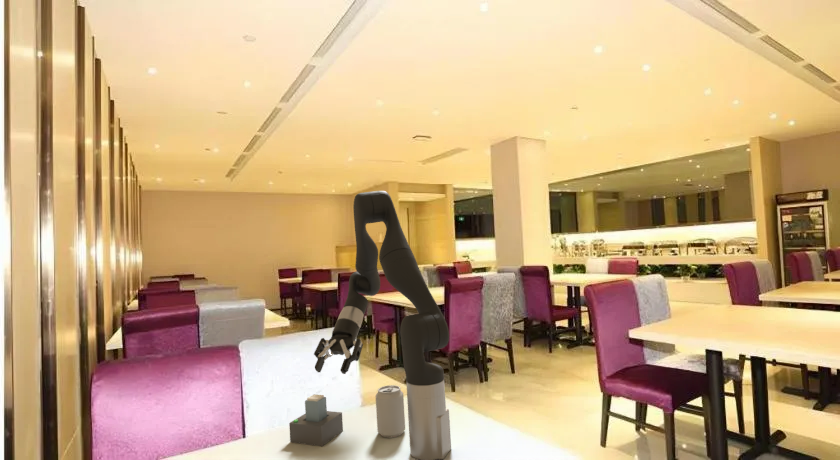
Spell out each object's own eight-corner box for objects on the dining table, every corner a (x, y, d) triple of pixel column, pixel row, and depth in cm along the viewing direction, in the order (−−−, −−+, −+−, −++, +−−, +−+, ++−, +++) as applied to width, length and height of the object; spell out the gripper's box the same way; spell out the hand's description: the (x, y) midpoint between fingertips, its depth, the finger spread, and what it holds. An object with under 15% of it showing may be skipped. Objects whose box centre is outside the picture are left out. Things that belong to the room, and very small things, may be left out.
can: (372, 436, 121) (369, 391, 121) (387, 425, 127) (384, 382, 128) (396, 440, 117) (393, 393, 118) (410, 429, 124) (407, 385, 124)
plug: (327, 430, 124) (325, 394, 125) (319, 436, 121) (317, 399, 121) (315, 428, 126) (313, 393, 126) (306, 434, 122) (304, 398, 122)
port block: (342, 430, 126) (341, 411, 126) (322, 446, 117) (321, 424, 117) (312, 427, 130) (311, 408, 130) (290, 442, 120) (289, 421, 120)
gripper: (323, 317, 142) (303, 363, 131) (363, 317, 137) (346, 366, 126) (334, 331, 147) (315, 377, 136) (373, 331, 142) (356, 379, 131)
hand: (330, 371), depth 131 cm, fingers open, 8 cm apart
